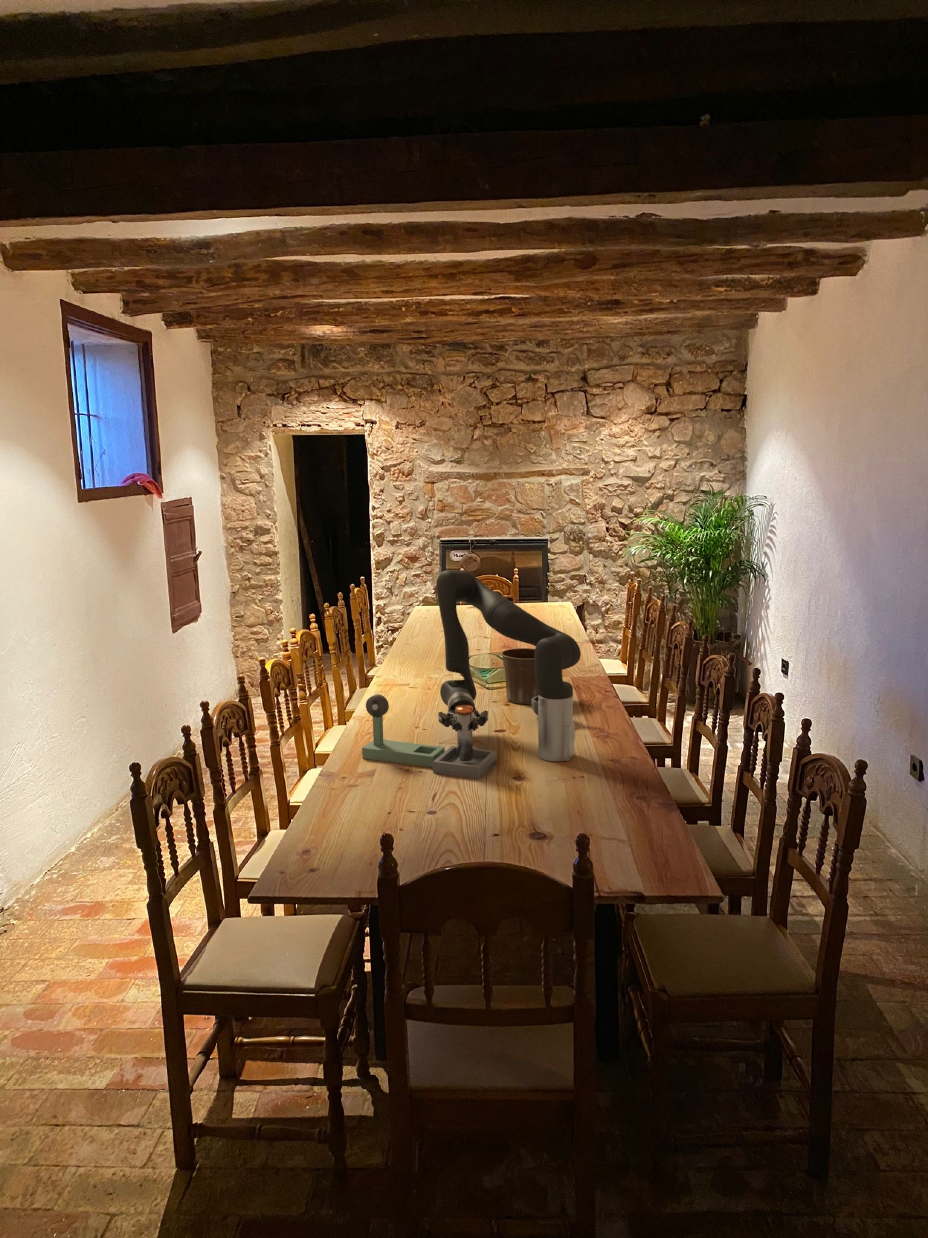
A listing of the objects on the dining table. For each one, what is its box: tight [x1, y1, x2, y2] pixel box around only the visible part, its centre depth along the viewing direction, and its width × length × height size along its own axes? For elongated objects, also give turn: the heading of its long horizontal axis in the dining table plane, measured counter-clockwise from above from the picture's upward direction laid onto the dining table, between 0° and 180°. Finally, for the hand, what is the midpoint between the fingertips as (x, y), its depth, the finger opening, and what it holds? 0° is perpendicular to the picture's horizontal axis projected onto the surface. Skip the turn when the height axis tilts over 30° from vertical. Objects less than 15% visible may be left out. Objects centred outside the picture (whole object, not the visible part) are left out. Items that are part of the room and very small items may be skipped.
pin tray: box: [432, 745, 498, 780], centre depth 223 cm, size 13×13×3 cm
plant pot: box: [500, 647, 539, 705], centre depth 284 cm, size 16×16×16 cm
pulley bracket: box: [361, 693, 446, 768], centre depth 230 cm, size 21×8×17 cm, turn 69°
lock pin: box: [456, 705, 474, 761], centre depth 222 cm, size 5×5×14 cm
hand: (465, 727), depth 219 cm, fingers closed on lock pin, 4 cm apart
